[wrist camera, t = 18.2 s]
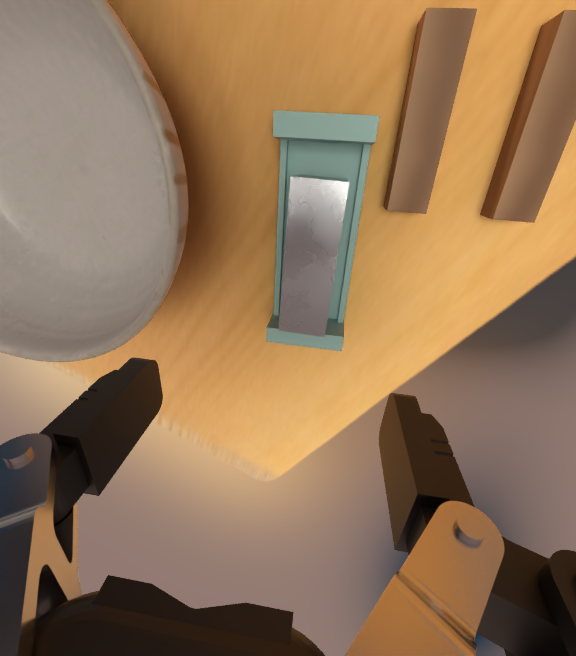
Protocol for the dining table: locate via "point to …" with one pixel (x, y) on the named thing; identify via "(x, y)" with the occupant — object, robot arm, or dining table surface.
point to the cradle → (327, 161)
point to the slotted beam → (524, 130)
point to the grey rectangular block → (311, 252)
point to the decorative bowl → (82, 183)
